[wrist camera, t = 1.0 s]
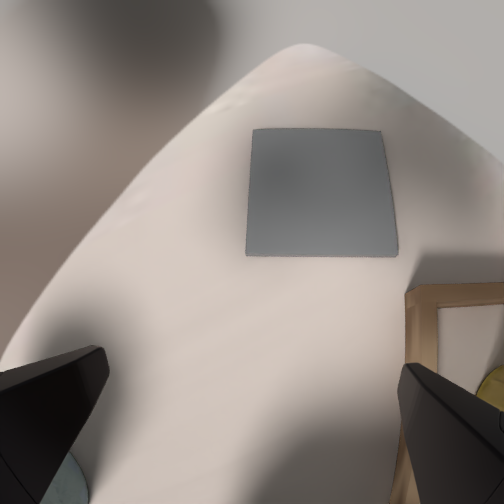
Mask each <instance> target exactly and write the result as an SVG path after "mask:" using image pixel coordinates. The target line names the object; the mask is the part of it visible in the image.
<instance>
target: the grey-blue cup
mask: <svg viewBox="0 0 504 504" xmlns="http://www.w3.org/2000/svg"><path fill="white" fill-rule="evenodd" d="M40 504H88V488H87V483H86V480H85V477H84V475H83V473H82V471H81V469H80V467H79V465H78V464H77V462H76V461H75V459H74V458H73V456H72V455H71V454H70V452H68V454H67V455H66V457H65V459H64V461H63V463H62V464H61V466H60V468H59V470H58V471H57V473H56V475H55V477H54V479H53V481H52V482H51V484H50V486H49V488H48V490H47V492H46V493H45V495H44V497H43V499H42V501H41V503H40Z"/></svg>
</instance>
